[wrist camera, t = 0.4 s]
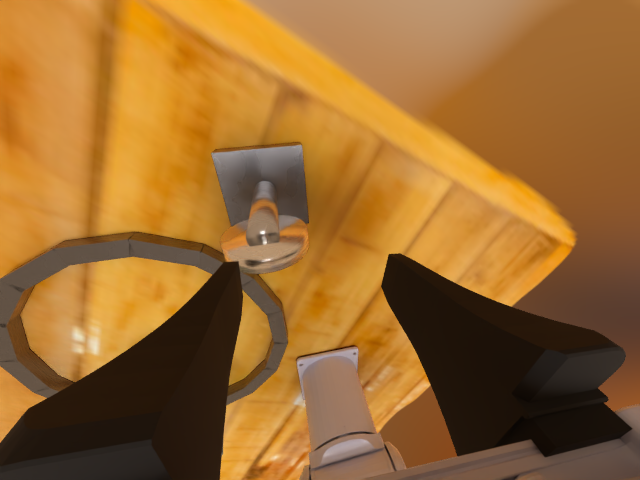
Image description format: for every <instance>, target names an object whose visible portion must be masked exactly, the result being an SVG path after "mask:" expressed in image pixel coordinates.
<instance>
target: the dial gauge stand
mask: <svg viewBox="0 0 640 480" xmlns="http://www.w3.org/2000/svg"><path fill="white" fill-rule="evenodd" d="M211 154H212V158H213V161H214V165H215V169H216V172H217V176H218V179H219V183H220V187H221V190H222V194H223V198H224V201H225V205H226V208H227V212H228V216H229V219H230V223H231V227H230V228H229V229H228V230H227V231H226V232H225V233H224V234H223V235H222V237H221V239H220V244H221V248H222V251H223V254H224V257H225V260H226V262H232V261H239V268H240V272H243V273H249V274H263V273H270V272H275V271H278V270H282V269H284V268H287V267H289V266H291V265H293V264H295V263H296V262H298V261H299V260H301V259H302V258H303V257H304V256H305V254H306V253H307V251H308V249H309V239H308V229H307V225H306V224H307V223H309V218H308V207H307V196H306V185H305V174H304V162H303V151H302V144H301V143H300V142H295V143H283V144H272V145H261V146H249V147H238V148H226V149H216V150H214V151H213V152H212V153H211Z"/></svg>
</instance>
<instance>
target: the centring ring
mask: <svg viewBox="0 0 640 480" xmlns="http://www.w3.org/2000/svg"><path fill="white" fill-rule="evenodd" d="M126 257H139V258H146V259H153V260H159V261H166V262H172V263H179V264H185V265H192V266H196V267H198V268H200V269H202V270H204V271H207V272H209V273H211V274H214V273H215V272H216V270H217V269H218V268H219V267H220V266H221V265H222V264H223V263H224V262H226V260H225V257H224V254H222V253H220V252H218V251H216V250H214V249H213V248H211V247H209V246H207V245H204V244H201V243H195V242H190V241H184V240H178V239H173V238H167V237H162V236H156V235H151V234H145V233H140V232H131V233H123V234H115V235H107V236H99V237H91V238H83V239H75V240H67V241H64V242H62V243H60V244H58V245H57V246H55V247H53V248H51V249H50V250H48V251H46V252H44V253H43V254H41V255H39V256H37V257H36V258H34V259H32V260H30V261H29V262H27V263H25V264H23V265H22V266H20V267H18V268H16V269H15V270H13V271H11V272H10V273H8V274H7V275H5V276H4V277H2V278H1V279H0V366H1V367H2V368H4V369H5V370H6V371H7V372H9V373H10V374H11V375H12V376H14V377H15V378H16V379H17V380H19V381H20V382H21V383H22V384H23V385H25V386H26V387H27V388H28V389H30V390H31V391H32V392H34V393H36V394H39V395H41V396H44V397H46V398H49V397H51V396H52V395H54V394H56V393H58V392H59V391H61V390H63V389H65V388H66V387H68V386H70V385H72V384H74V382H71V381H69V380H67V379H65V378H62V377H60V376H58V375H57V374H56V373H55V372H54V371H53V370H52V369H51V368H49V367H48V366H47V365H46V364H45V363H44V362H43V361H42V360H41V359H40V358H39V357H38V356H37V355H36V354H34V353H33V352H32V351H31V350H30V349H29V346H28V343H27V339H26V336H25V332H24V329H23V325H22V322H21V318H20V313H21V311H22V309H23V307H24V305H25V303H26V301H27V299H28V297H29V295H30V293H31V291H32V290H33V288H34V286H35V284H37V283H39V282H41V281H42V280H44V279H46V278H48V277H50V276H51V275H53V274H55V273H57V272H59V271H60V270H62V269H64V268H66V267H67V266H69V265H75V264H82V263H90V262H97V261H104V260H111V259H119V258H126ZM240 276H241V284H242V289H243V290H244V291H245V292H246V293H247V295H248V296H249V297H250V298H251V299H252V300H253V301H254V302H255V303H256V304H257V305H258V306H259V307H260V308H261V309H262V311H263V312H264V313H265V314H266V315H267V316H268V320H269V324H270V329H271V333H272V337H273V339H272V341H271V344H270V347H269V350H268V353H267V356H266V358H265V360H264V361H263V362H262V363H261V364H260V365H259V366H258V367H256V368H255V369H254V370H253V371H252V372H251V373H250V374H249V375H248V376H247V377H246V378H245V379H243V380H241V381H239V382H237V383H235V384H233V385H231V386H229V387H228V394H227V403H226V405H228V404H230V403H232V402H234V401H236V400H238V399H240V398H242V397H245V396H247V395H249V394H251V393H253V392H254V391H255V390H256V389H257V388H258V387H260V386H261V385H262V384H263V383H264V382H265V381H266V380H267V379H268V378H269V377H270V376H271V375H272V374H274V373H275V372H276V371H277V369H278V367H279V364H280V362H281V359H282V357H283V354H284V352H285V349H286V346H287V344H288V336H287V329H286V324H285V319H284V314H283V308H282V303H281V301H280V300H279V299H278V298H277V297H276V296H275V294H274V293H273V292H272V291H271V290H270V288H269V287H268V286H267V285H266V284H265V282H264V281H263V280H262V279H261V278H260V277H259V275H258V274H249V273H243V272H240Z"/></svg>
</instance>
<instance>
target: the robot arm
mask: <svg viewBox="0 0 640 480" xmlns="http://www.w3.org/2000/svg"><path fill="white" fill-rule="evenodd" d="M381 287H382V289H383V292H384V295H385V297H386V299H387V302H388V304H389V306H390V307H391V309H392V311H393V313H394V314H395V316H396V318H397V320H398V321H399V323H400V325H401V326H402V328H403V330H404V331H405V333H406V335H407V336H408V338H409V340H410V341H411V343H412V345H413V347H414V349H415V351H416V353H417V355H418V357H419V359H420V361H421V364H422V366H423V368H424V370H425V372H426V375H427V377H428V379H429V382H430V384H431V386H432V389H433V391H434V393H435V396H436V399H437V401H438V404H439V406H440V409H441V411H442V414H443V416H444V419H445V422H446V425H447V427H448V430H449V433H450V436H451V439H452V442H453V444H454V447H455V450H456V453H457V456H458V457H454V458H450V459H445V460H441V461H437V462H433V463H428V464H424V465H420V466H416V467H411V468H406V466H405V464H404V461H403V459H402V457H401V455H400V453H399V451H398V450H397V449H396V448H395V447H394V446H393V445H392V444H391V443H390V442H385V443H383V440H382V437H381V434H380V433H377V432H376V429H375V426H374V423H373V420H372V417H371V414H370V410H369V407H368V404H367V401H366V398H365V395H364V392H363V389H362V386H361V383H360V380H359V377H358V374H357V369H358V348H357V347H349V348H344V349H340V350H335V351H330V352H325V353H320V354H315V355H310V356H305V357H301V358H298V359H297V368H298V373H299V379H300V385H301V390H302V396H303V400H305V404H306V412H307V420H308V429H309V437H310V445H311V452H310V453H309V460H310V465H306V466H304V468H303V472H302V474H301V476H300V480H640V404H637V405H633V406H628V407H624V408H621V409H619V410H617V411H615V412H613V411H612V410H611V409H610V408H609V407H608V406H606V405H605V404H604V402H607V401H608V397H607V396H606V395H604V393H602V392H601V391H600V390H599V389H598V387H599V386H600V385H601V384H602V383H604V382H605V381H606V380H607V379H608V378H609V377H610V376H611V375H612V374H613V373H614V372H616V370H617V369H618V368H619V367H620V366H621V365H622V364H623V362H624V360H625V357H626V355H625V351H624V350H623V348H621V347H620V346H618V345H617V344H615V343H614V342H612V341H611V340H609V339H608V338H606V337H605V336H603V335H602V334H600V333H598V332H596V331H594V330H590V329H586V328H582V327H578V326H574V325H570V324H566V323H561V322H558V321H554V320H550V319H547V318H544V317H541V316H537V315H534V314H530V313H528V312H525V311H522V310H519V309H515V308H513V307H510V306H507V305H505V304H502V303H499V302H496V301H494V300H491V299H489V298H486V297H484V296H482V295H480V294H477V293H475V292H473V291H470V290H468V289H466V288H464V287H462V286H460V285H458V284H456V283H454V282H452V281H450V280H448V279H446V278H444V277H443V276H441V275H439V274H437V273H435V272H433V271H432V270H430V269H428V268H426V267H425V266H423V265H421V264H419V263H418V262H416V261H414V260H412V259H410V258H408V257H406V256H404V255H402V254H389V256H388V260H387V264H386V268H385V273H384V277H383V281H382V285H381ZM242 303H243V293H242V284H241V276H240V268H239V261H232V262H224V263H223V264H222V265H221V266H220V267H219V268H218V269H217V270H216V272H215V273H214V274H213V275H212V276H211V278H210V279H209V280H208V281H207V282H206V283H205V284H204V285H203V286H202V287H201V289H200V290H199V291H198V292H197V293H196V294H195V295H194V296H193V297H192V298H191V299H190V300H189V301H188V302H187V303H186V304H185V305H184V306H183V307H182V308H181V309H180V310H178V311H177V312H176V313H175V314H174V315H173V316H172V317H171V318H169V319H168V320H167V321H166V322H164V323H163V324H162V325H161V326H160V327H158V328H157V329H156V330H154V331H153V332H152V333H150V334H149V335H148V336H146V337H145V338H143V339H142V340H141V341H139V342H138V343H137V344H135V345H134V346H132V347H131V348H130V349H128V350H127V351H125V352H124V353H122V354H121V355H119V356H118V357H116V358H115V359H113V360H111V361H110V362H108V363H107V364H105V365H104V366H102V367H100V368H99V369H97V370H96V371H94V372H92V373H91V374H89V375H87V376H86V377H84V378H82V379H81V380H79V381H77V382H75V383H74V384H72V385H70V386H68V387H66V388H65V389H63V390H61V391H59V392H58V393H56V394H54V395H52V396H51V397H49V398H47V399H45V400H43V401H42V402H40V403H38V404H36V405H34V406H32V407H31V408H29V409H28V410H27V411H26V412H25V413H24V414H23V416H22V417H21V418H20V419H19V420H18V422H17V423H16V424H15V425H14V427H13V428H12V429H11V430H10V432H9V433H8V434H7V435H6V437H5V438H4V439H3V440H2V442H1V443H0V480H220V468H221V456H222V445H223V433H224V423H225V413H226V403H227V394H228V385H229V376H230V370H231V364H232V359H233V354H234V350H235V345H236V340H237V335H238V331H239V326H240V321H241V315H242Z"/></svg>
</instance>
